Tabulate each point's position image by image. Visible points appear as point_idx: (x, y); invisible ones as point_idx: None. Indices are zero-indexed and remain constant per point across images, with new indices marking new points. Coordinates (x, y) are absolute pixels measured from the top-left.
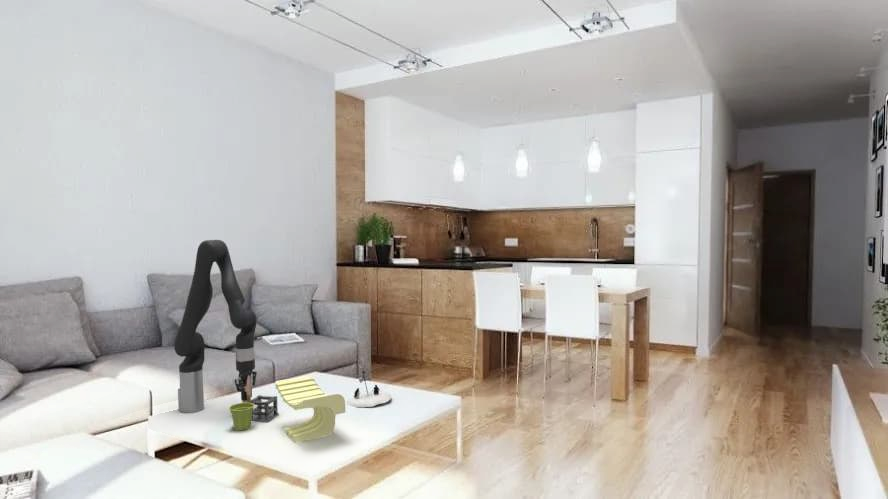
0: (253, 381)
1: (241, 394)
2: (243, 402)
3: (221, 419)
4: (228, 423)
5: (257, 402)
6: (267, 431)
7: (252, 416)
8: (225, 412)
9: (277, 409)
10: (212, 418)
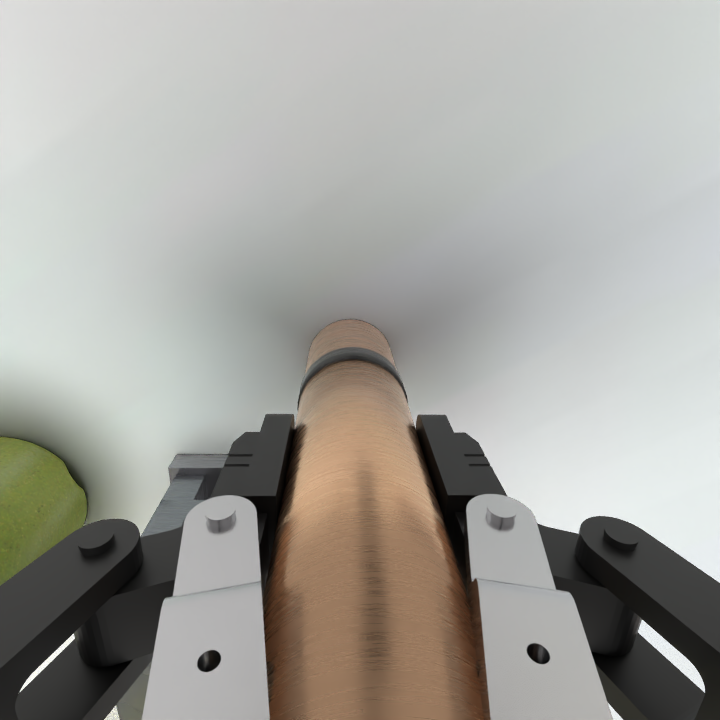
0: (627, 711)
1: (214, 494)
2: (298, 409)
3: (147, 157)
4: (67, 310)
5: (123, 714)
6: (34, 674)
7: None
8: (386, 55)
9: None
10: (144, 4)
